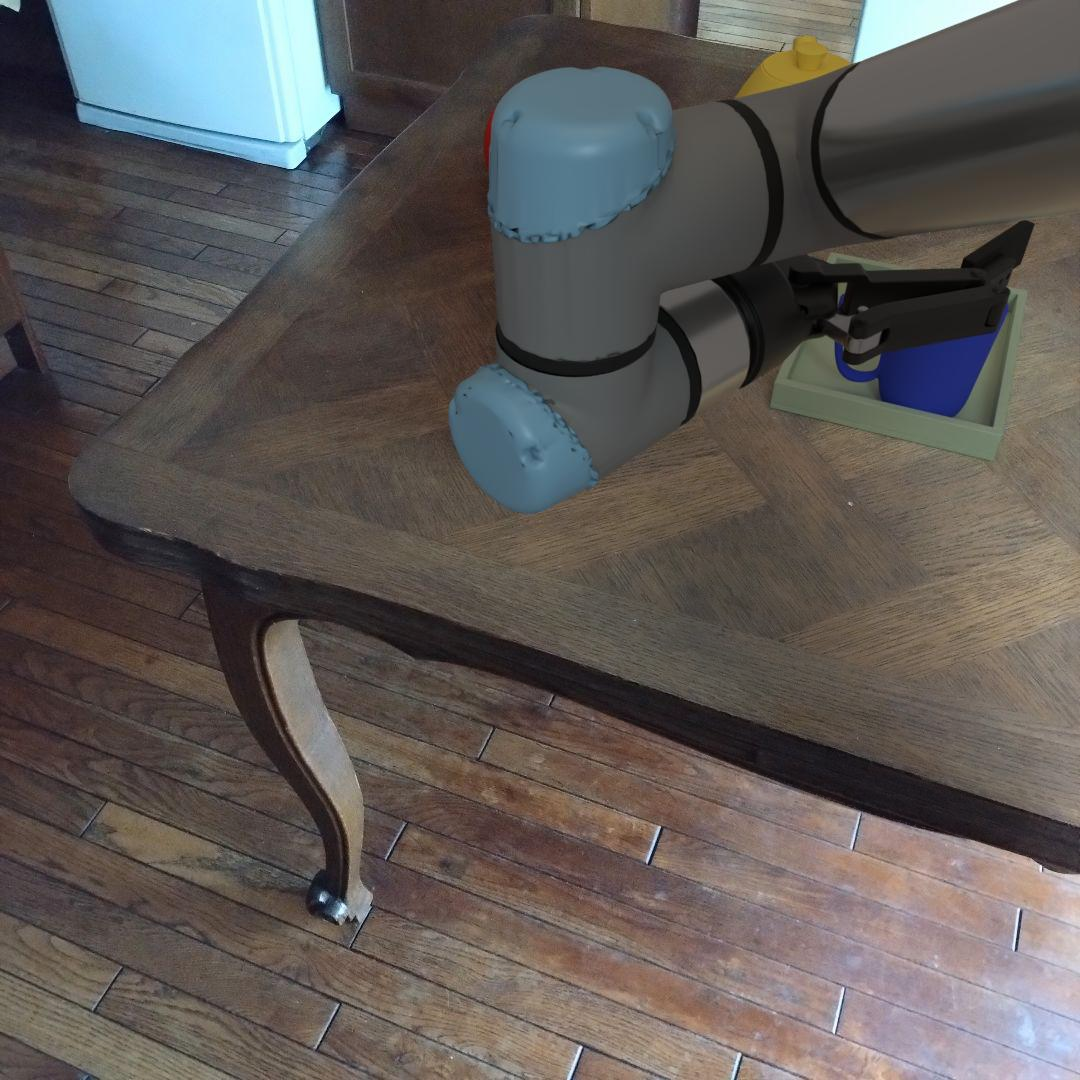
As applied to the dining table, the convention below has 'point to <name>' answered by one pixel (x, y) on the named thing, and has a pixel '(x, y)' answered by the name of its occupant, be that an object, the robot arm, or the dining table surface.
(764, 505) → the dining table surface
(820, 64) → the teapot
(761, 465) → the dining table surface
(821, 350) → the tray
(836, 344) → the mug
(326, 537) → the dining table surface
